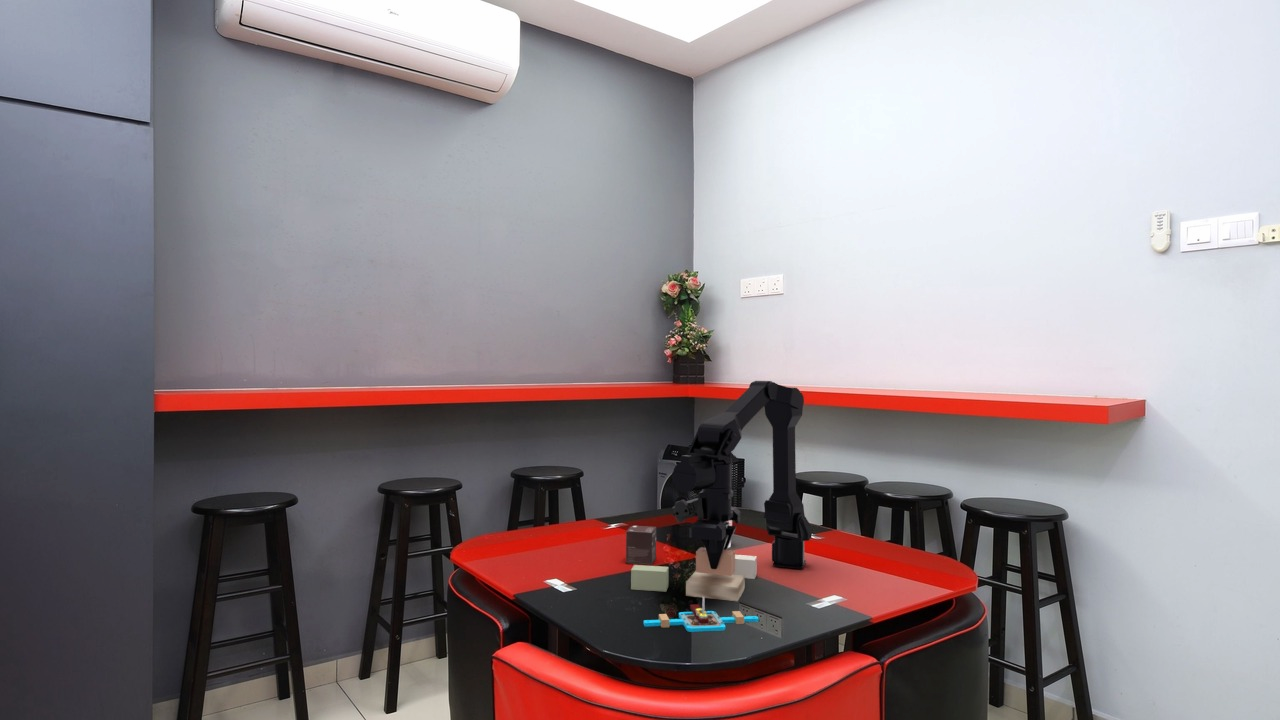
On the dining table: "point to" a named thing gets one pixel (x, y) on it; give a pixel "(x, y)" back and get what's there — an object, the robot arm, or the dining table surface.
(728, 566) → the terracotta brick
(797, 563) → the robot arm
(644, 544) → the box
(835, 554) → the dining table surface
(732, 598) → the beech slab
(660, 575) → the olive brick
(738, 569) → the cream brick
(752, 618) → the gear mechanism
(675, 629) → the dining table surface
